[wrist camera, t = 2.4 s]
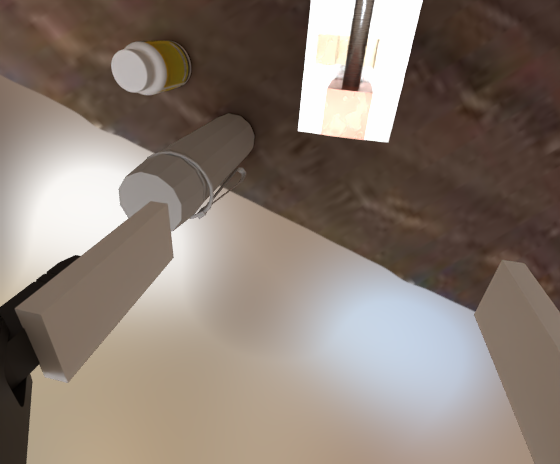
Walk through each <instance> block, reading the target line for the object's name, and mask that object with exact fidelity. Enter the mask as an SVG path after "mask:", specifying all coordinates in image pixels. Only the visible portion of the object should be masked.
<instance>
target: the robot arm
mask: <svg viewBox="0 0 560 464" xmlns="http://www.w3.org/2000/svg"><path fill="white" fill-rule="evenodd" d="M172 258H173V249H172V239H171V229H170V220H169V210H168V204H166V203H160V202H154V201H150V202H149V203H148V204H146V205H145V206H144V207H143V208H141V209H140V210H139V211H138V212H136V213H135V214H134V215H132V216H131V217H130V218H129V219H127V220H126V221H125V222H124V223H122V224H121V225H120V226H119V227H117V228H116V229H115V230H114V231H112V232H111V233H110V234H108V235H107V236H106V237H105V238H103V239H102V240H101V241H100V242H98V243H97V244H96V245H94V246H93V247H92V248H91V249H89V250H88V251H87V252H86V253H84V254H83V255H82V256H78V255H75V256H73V257H70V258H68V259H66V260H64V261H61V262H60V263H58V264H57V265H55V266H54V267H53V268H51V269H50V270H49V271H47V274H43V275H42V276H41V277H39V278H38V279H37V280H36V282H33V283H31V284H30V285H29V286H27V287H26V288H25V289H24V290H22V291H21V292H19V293H18V294H17V295H16V296H14V297H13V298H12V299H10V300H9V301H8V302H6V303H5V304H4V305H2V306H1V307H0V464H26V458H27V445H28V431H29V419H30V406H31V392H32V379H31V375H30V373H31V372H32V371H33V370H34V369H35V368H36V367H37V366H38V365H40V367H41V369H42V372H43V374H44V376H45V377H47V378H50V379H55V380H58V381H63V382H66V383H68V382H69V381H70V380H71V379H72V377H73V376H74V375H75V374H76V373H77V371H78V370H79V369H80V368H81V366H83V364H84V363H85V362H86V361H87V360H88V358H89V357H90V356H91V355H92V354H93V352H94V351H95V350H96V349H97V348H98V347H99V345H100V344H101V343H102V341H104V339H105V338H106V337H107V336H108V335H109V334H110V332H111V331H112V330H113V329H114V328H115V326H116V325H117V324H118V323H119V322H120V320H121V319H122V318H123V317H124V316H125V315H126V313H127V312H128V311H129V310H130V308H131V307H132V306H133V305H134V304H135V303H136V301H137V300H138V299H139V298H140V297H141V296H142V294H143V293H144V292H145V291H146V289H147V288H148V287H149V286H150V285H151V284H152V282H153V281H154V280H155V279H156V278H157V277H158V275H159V274H160V273H161V272H162V271H163V269H164V268H165V267H166V266H167V265H168V263H169V262H170V261H171V260H172ZM474 316H475V318H476V321H477V323H478V325H479V328H480V330H481V333H482V335H483V338H484V340H485V343H486V345H487V347H488V350H489V353H490V355H491V358H492V360H493V362H494V365H495V367H496V370H497V372H498V374H499V377H500V380H501V382H502V385H503V387H504V389H505V391H506V394H507V397H508V399H509V402H510V404H511V407H512V409H513V412H514V414H515V416H516V419H517V422H518V424H519V427H520V429H521V431H522V434H523V436H524V439H525V441H526V444H527V446H528V449H529V451H530V453H531V456H532V458H533V461H534V464H560V312H559V311H558V310H557V308H556V307H555V305H554V304H553V303H552V301H551V300H550V298H549V297H548V296H547V294H546V293H545V291H544V290H543V289H542V287H541V286H540V284H539V283H538V282H537V280H536V279H535V277H534V276H533V275H532V273H531V272H530V270H529V269H528V268H527V266H526V265H525V264H524V263H518V262H512V261H506V260H502V261H501V263H500V265H499V267H498V269H497V271H496V273H495V275H494V277H493V279H492V281H491V283H490V284H489V286H488V288H487V290H486V292H485V294H484V296H483V298H482V300H481V302H480V304H479V306H478V308H477V310H476V312H475V314H474Z"/></svg>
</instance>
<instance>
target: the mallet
mask: <svg viewBox="0 0 560 464" xmlns="http://www.w3.org/2000/svg"><path fill="white" fill-rule="evenodd" d="M374 2H375V0H356V1H355V7H354V14H353V20H352V27H351V33H350V39H349V46H348V52H347V59H346V65H345V71H344V78H343V80H336V79H332V81H331V82H330V84H329V86H328V87H327V90H326V97H325V105H324V112H323V120H322V127H321V135H328V136H336V137H344V138H352V139H360V140H364V137H365V132H366V127H367V123H368V118H369V113H370V108H371V103H372V98H373V89H372V85H371V83H365V82H360V80H361V74H362V69H363V63H364V58H365V52H366V47H367V41H368V36H369V30H370V25H371V19H372V14H373V8H374Z"/></svg>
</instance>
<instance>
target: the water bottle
mask: <svg viewBox="0 0 560 464" xmlns="http://www.w3.org/2000/svg"><path fill="white" fill-rule="evenodd" d="M254 138H255V136H254V133H253V131H252V128H251V126H250V124H249V123H248V122H247V121H246V120H245V119H243V118H242V117H241V116H239V115H234V114H230V113H228V114H226V115H223V116H220V117H218V118H216V119H214V120H213V121H211V122H209V123H208V124H206V125H204V126H202V127H201V128H199V129H197V130H195V131H194V132H192V133H190V134H189V135H187V136H185V137H183V138H182V139H180V140H178V141H177V142H175V143H173V144H171V145H170V146H168V147H166V148H165V149H163V150H161V151H159V152H158V153H155V154H153V155H151V156H149V157H147V159H146V160H145V161H144V162H143V163H142V164H140V165H139V166H138V167H137V168H136V169H134V170H133V171H132V172H131V173H130V174H128V175H127V176H126V177H125V179H124V181H123V182H122V184H121V186H120V187H119V196H120V197H119V198H120V205H121V207H122V208H123V210H124V211H125V213H126V215H127V217H128V218H130V217H131V216H132V215H134V214H135V213H136V212H138V211H139V210H140V209H141V208H143V207H144V206H145V205H146V204H148V203H149V202H150V201H154V202H160V203H166V204H168V210H169V220H170V229H171V231H174V230H175V229H176V228H177V227H179V226H180V225H181V224H183V223H184V222H185V221H186V220H188V219H189V218H190V219H192V218H196V217H198V218H199V219H200V218H202V217H203V216H204V215H206V213H207V211H208V210H209V209H210V208H211V205H212V204H213V203H214V202H216V201H217V200H219V199H220V198H221V197H222V196H224V195H225V194H227V193H228V192H229V191H231V190H232V189H233V188H235V187H236V186H237V185H239V184H240V183H241V182H243V180H244V178H245V177H246V171H245V170H244V168H237V169H236V170H234V169H235V168H236V167H237V166H238V165H239V164H240V163H241V162H242V161H243V160H244V158H245V157H246V156H247V155H248V154H249V153H250V151H251V150H252V149H253V146H254ZM233 170H234V171H233ZM232 171H233V172H232ZM236 171H238V172H240V173H241V174H242V177H241V179H240V181H239V183H238V184H236V185H235V186H234V187H232V188H231V189H230V190H228V191H227V192H226V193H225V194H223V195H222V196H221V197H219V198H218V199H217V200H215V201H214V202H213V199H214V198H215V197H216V196H217V194H218V193H219V192H220V191H221V190H222V188H223V187H224V186H225V185H226V184H227V182H228V181H229V180H230V179H231V178H232V176H233V175H234V174H235V173H236ZM231 172H232V173H231ZM230 173H231V175H230V176H229V174H230ZM228 176H229V177H228ZM227 177H228V178H227ZM226 178H227V180H226V181H225V182H224V183H223V185H222V186H221V187H220V188H219V190H218V191H217V192H216V193H215V195H214V196H213V192H214V191H215V189H216V188H217V187H218V186H219V185H220V184H221V183H222V182H223V181H224V180H225V179H226ZM209 196H210V201H209V202H208V204H207V205H206V206H205V207H203V208H201V210H200V211H199V212H198V213H197V214H195V213H196V211H197V210H198V209H199V207H200V206H201V205H202V204H203V202H204V201H205V200H206V199H207V198H208V197H209ZM212 202H213V203H212ZM194 214H195V215H194Z"/></svg>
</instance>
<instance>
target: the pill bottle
mask: <svg viewBox="0 0 560 464" xmlns="http://www.w3.org/2000/svg"><path fill="white" fill-rule="evenodd" d="M111 68H112V73H113V76H114V78H115V80H116V81H117V83H118V84H119V85H120V86H121V87H122V88H123V89H125V90H127V91H129V92H138V93H140V94H143V95H154V94H158V93H161V92H165V91H168V90H171V89H175V88H178V87H181V86H183V85H184V84H185V83H186V82H187V81H188V79H189V78H190V75H191V62H190V58H189V56H188V54H187V52H186V51H185V50H184V48H183V47H182V46H180V45H179V44H178V43H176V42H173V41H168V40H162V41H138V42H133V43H131V44H129V45H127V46H126V47H125V48H124V50H120V51H118V52H117V53H116V54H115V55H114V57H113V59H112V63H111Z"/></svg>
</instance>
